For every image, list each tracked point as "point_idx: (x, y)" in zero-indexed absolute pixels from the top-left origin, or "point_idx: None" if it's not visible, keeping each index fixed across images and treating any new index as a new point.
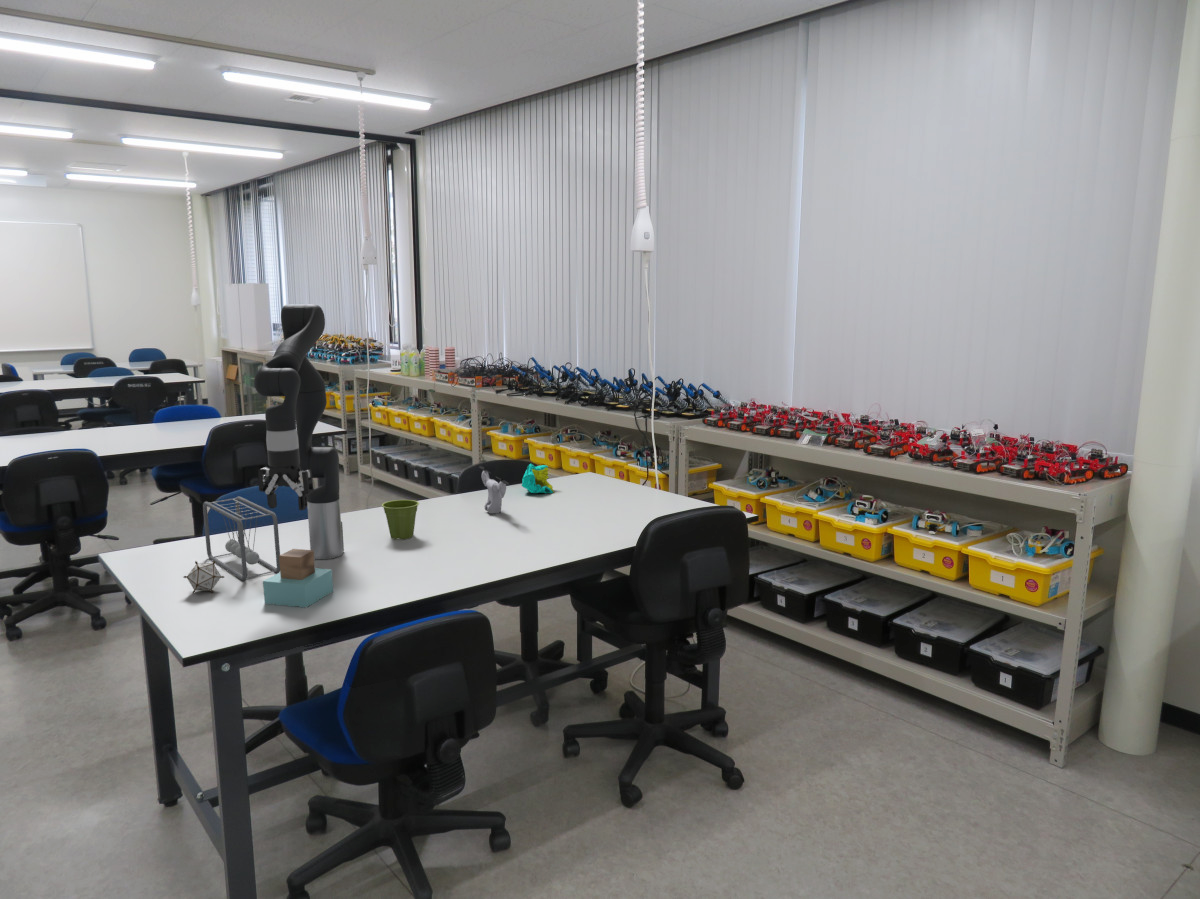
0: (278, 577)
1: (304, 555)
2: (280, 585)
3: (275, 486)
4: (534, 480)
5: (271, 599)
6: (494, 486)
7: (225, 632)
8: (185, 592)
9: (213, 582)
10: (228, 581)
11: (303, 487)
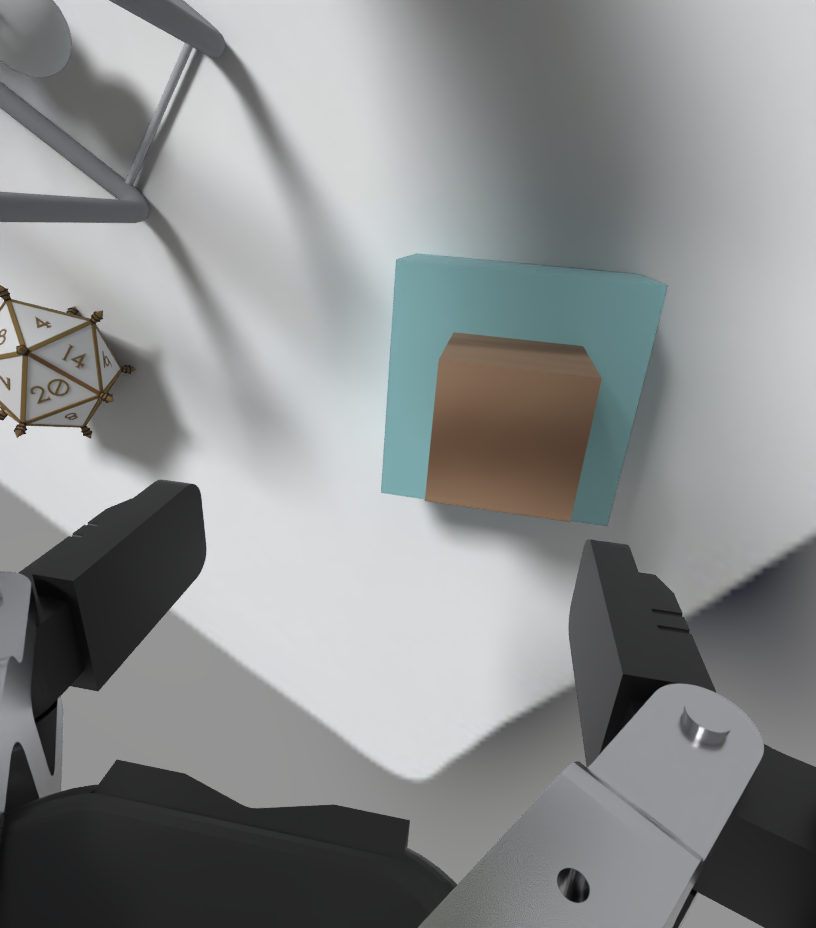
0: (425, 442)
1: (579, 476)
2: None
3: (45, 784)
4: None
5: None
6: None
7: (418, 671)
8: None
9: (110, 377)
10: (85, 223)
11: (708, 858)
